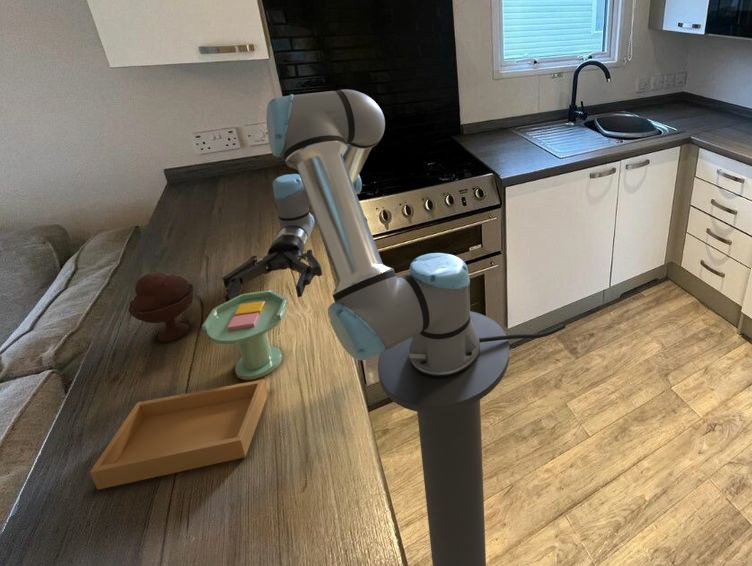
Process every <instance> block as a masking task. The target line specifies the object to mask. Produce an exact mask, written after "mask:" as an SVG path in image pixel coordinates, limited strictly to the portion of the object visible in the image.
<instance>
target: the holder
mask: <svg viewBox="0 0 752 566" xmlns="http://www.w3.org/2000/svg"><path fill="white" fill-rule="evenodd" d="M268 394H269V393H268V389H267V385H266V382H265V379H263V378H262V379H259V380H258V379H257V380H252V381H248V382H247V381H246V382H243V383H236V384H231V385H226V386H220V387H215V388H209V389H203V390H197V391H193V392H188V393H182V394H176V395H171V396H165V397H159V398H154V399H148V400H143V401H138V402H136V403H135V405H134V407H133V408H132V409H131V411H130V412H129V414H128V415H127V417H126V418H125V420H124V421H123V423H122V424H121V425H120V427H119V428H118V430H117V431H116V432H115V434H114V436H113V437H112V439H111V440H110V442H109V443H108V444H107V446H106V447H105V449H104V450H103V452H102V453H101V455H100V456H99V458H98V459H97V461H96V462H95V463H94V465H93V467H92V468H91V470H90V471H89V474H90V476H91V478H92V480H93V482H94V485H95V488H96V489H97V490H103V489H108V488H112V487H117V486H122V485H126V484H130V483H134V482H139V481H143V480H149V479H153V478H158V477H162V476H167V475H172V474H175V473H180V472H184V471H185V472H186V471H190V470H194V469H199V468H204V467H207V466H212V465H216V464H221V463H226V462H229V461H234V460H238V459H243V458H246V457H247V454H248V451H249V448H250V445H251V443H252V440H253V437H254V435H255V431H256V429H257V426H258V423H259V421H260V418H261V415H262V413H263V410H264V407H265V404H266V401H267V398H268Z"/></svg>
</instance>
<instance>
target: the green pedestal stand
mask: <svg viewBox="0 0 752 566" xmlns="http://www.w3.org/2000/svg"><path fill="white" fill-rule="evenodd" d="M261 301H265V306H264V308H263V310H262V312H261V314H259V318H258V320H257V322H256V325H255V327H249V328H243V329H236V330H230V331H228V329H227V327H228V325H229V323H230V322H231V320H232V318H233V317H234V316H235V313H236V311H237V309H238V307H239V306H240V304H246V303H254V302H261ZM287 306H288V299H287V297H285V296H283V295H282V294H279V293H277V292H275V291H274V290H272V289H270V290H262V291H255V292H254V291H253V292H247V293H246V292H245V293H241V294H240V295H239V294H238V296H237V297H235V298H233V299H231V300H229V301H227V302H226V301H225V302H223V303H222V304H219V305H217V306H215V307H214V308H212V310H211V312H209V314H208V316H207V317H206V319H205V321H204V322H203V324H202V326H201V329H202V332H206V335H207V338H208V339H209V340H210V341H211V342H213V343H216V344H220V345H235V344H237V345H238V351H239V353H240V358H239V359H238V361H237V363H236V364H235V367H234V372H235V374H236V377H237V378H239V379H241V380H243V381H251V380H252V381H253V380H258V379H260V378H262V377H265V376H267V375H268V374H270V373H271V372H273V371H274V370H276V369H277V368H278V367H279V365H280V364H281V362H282V359H283V356H282V351H281V350H280V349H279V348H278V347H277V346H276V347H275V346H271V343H270V342H271V341H270V339H269V338H270V337H269V333H268V332H270V331H272V330H273V329H274V328H276V327H277V325H280V323H281V322H282V321H283V319H284V318H285V317H286V313H287Z"/></svg>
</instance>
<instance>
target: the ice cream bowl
mask: <svg viewBox="0 0 752 566" xmlns="http://www.w3.org/2000/svg"><path fill="white" fill-rule="evenodd" d="M134 292H135V296H134V297H133V299H132V300H130V302H129V306H128V312H129V314H130V315H131V316H132V318H135V319H136V320H139V321H142V322H145V323H148V324H160V323H164V324H165V327H164V328H162V329H161V331H159V332H158V335H157V336H158V337H157V340H158V341H160V342H163V343H164V342H169V341H175V340H176V339H179V338H181V337H183V336H184V335H186V333H188V332H189V330H190V329H189V328H190V325H189V324H187V323H184V322H176V318H178V317H179V316H181V315H182V314H183V313H184V312H185V311H187V310H188V308H189V307H190V306H191V305H192V303H193V299H194V285H193V284H191V283H189V282H188V280H187V279H185V278H184V277H182V276H180V275H174V274H172V275H171V274H170V275H166V274H165V273H162V272H155V271H154V272H153V271H152V272H149V273H146V274H144V275H142V276H141V277H140V278H139V279H138V280H137V281H136V284H135V288H134Z"/></svg>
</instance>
